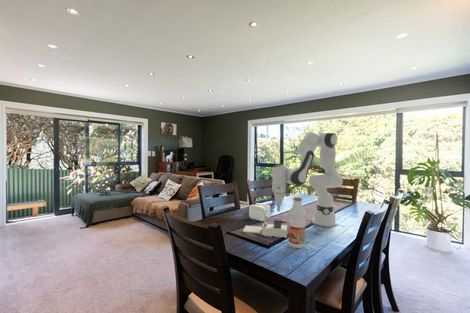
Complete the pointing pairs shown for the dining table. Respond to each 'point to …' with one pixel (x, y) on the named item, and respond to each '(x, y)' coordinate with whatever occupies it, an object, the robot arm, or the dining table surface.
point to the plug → (278, 223)
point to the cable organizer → (259, 211)
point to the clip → (265, 218)
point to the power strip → (274, 231)
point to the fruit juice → (297, 224)
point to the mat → (252, 229)
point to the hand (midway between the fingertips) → (278, 209)
